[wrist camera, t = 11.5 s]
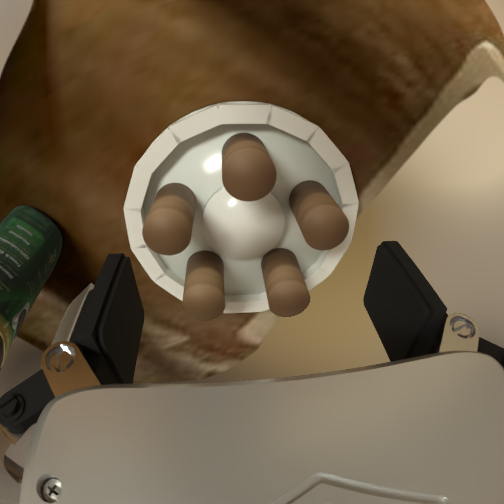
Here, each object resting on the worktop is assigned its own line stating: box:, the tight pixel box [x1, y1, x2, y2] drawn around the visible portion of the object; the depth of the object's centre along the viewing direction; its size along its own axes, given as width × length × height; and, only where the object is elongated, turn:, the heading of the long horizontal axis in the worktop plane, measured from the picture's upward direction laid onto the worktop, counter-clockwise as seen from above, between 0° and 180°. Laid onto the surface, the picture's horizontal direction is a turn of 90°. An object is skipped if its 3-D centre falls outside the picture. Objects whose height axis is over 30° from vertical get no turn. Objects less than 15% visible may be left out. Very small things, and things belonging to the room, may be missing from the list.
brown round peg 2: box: [289, 180, 349, 251], centre depth 27 cm, size 4×4×6 cm
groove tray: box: [124, 101, 359, 313], centre depth 30 cm, size 22×22×2 cm
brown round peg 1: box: [261, 248, 310, 317], centre depth 31 cm, size 4×4×6 cm
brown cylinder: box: [142, 183, 196, 256], centre depth 26 cm, size 4×4×6 cm
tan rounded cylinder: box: [222, 133, 277, 202], centre depth 25 cm, size 4×4×6 cm
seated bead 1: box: [182, 250, 225, 321], centre depth 31 cm, size 4×4×6 cm
